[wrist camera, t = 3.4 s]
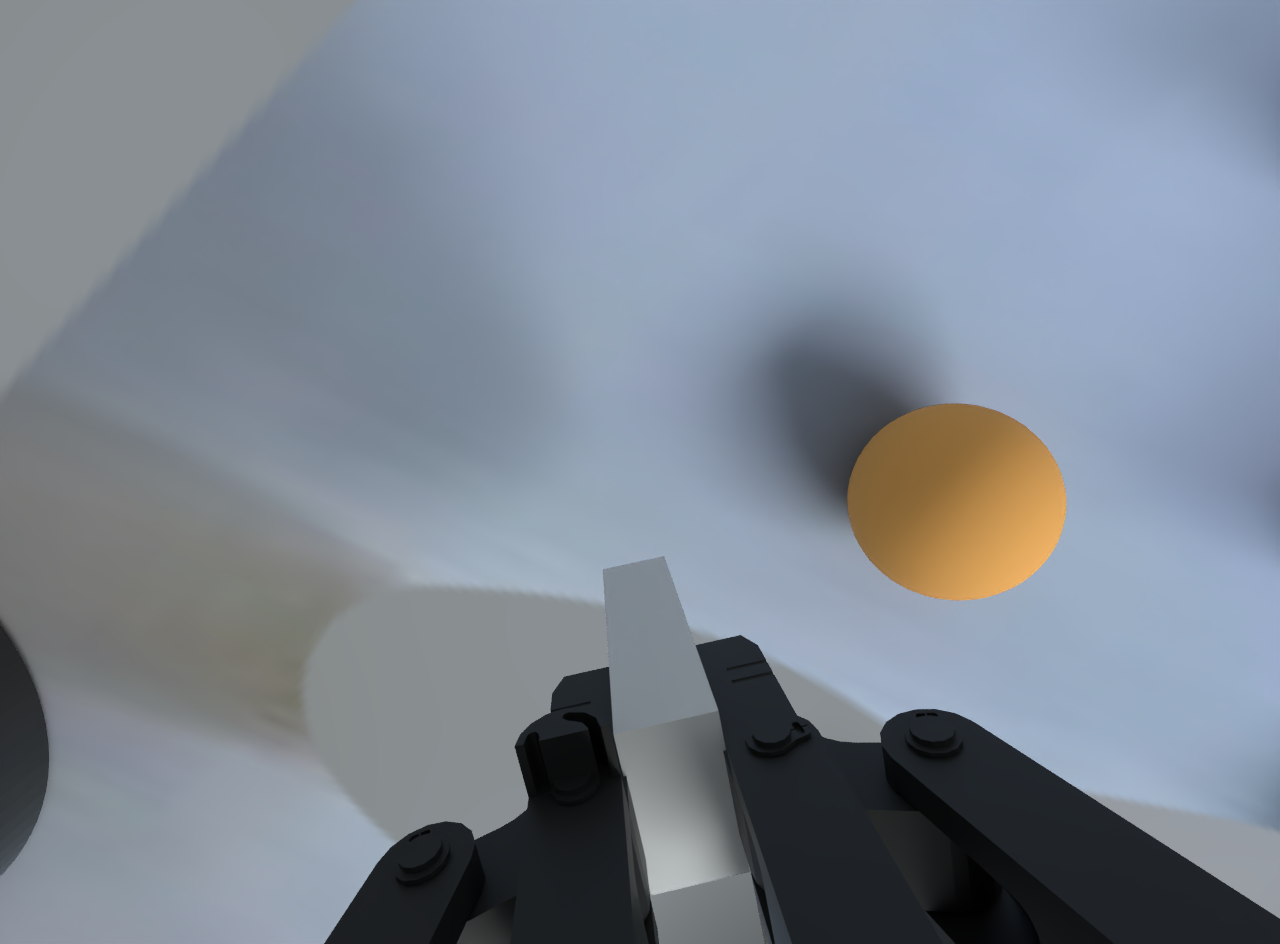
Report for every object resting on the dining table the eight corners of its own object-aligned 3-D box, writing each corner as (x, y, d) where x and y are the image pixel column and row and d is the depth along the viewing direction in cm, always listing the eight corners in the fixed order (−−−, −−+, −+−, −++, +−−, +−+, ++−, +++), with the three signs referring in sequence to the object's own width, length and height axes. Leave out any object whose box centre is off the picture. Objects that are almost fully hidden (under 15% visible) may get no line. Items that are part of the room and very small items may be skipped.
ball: (831, 576, 21) (916, 657, 16) (808, 414, 20) (892, 443, 15) (988, 540, 21) (1124, 607, 16) (975, 379, 20) (1117, 394, 15)
